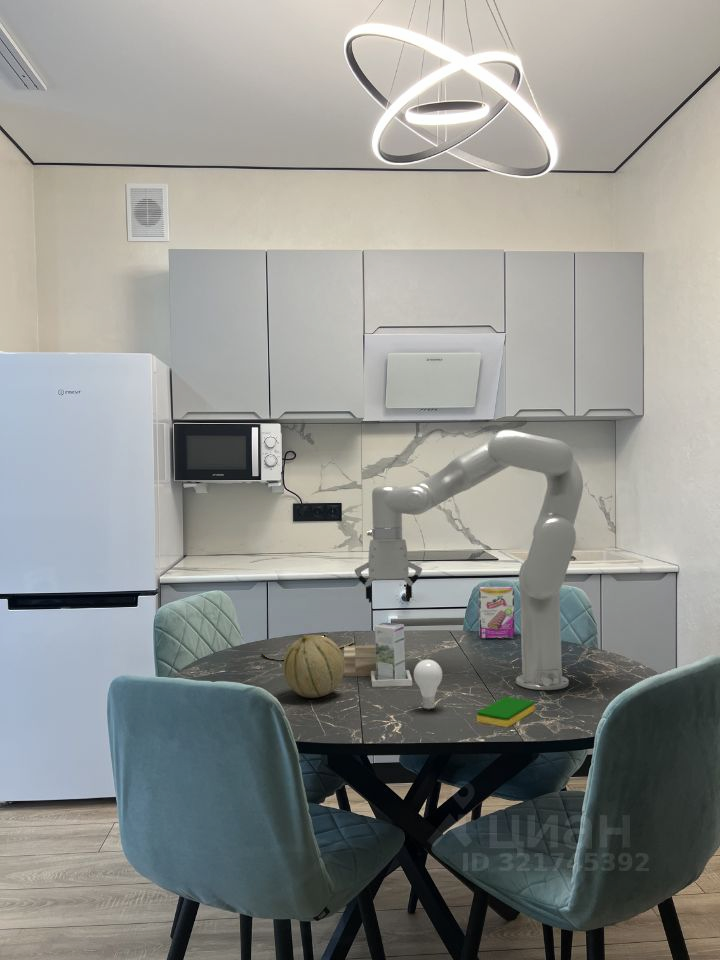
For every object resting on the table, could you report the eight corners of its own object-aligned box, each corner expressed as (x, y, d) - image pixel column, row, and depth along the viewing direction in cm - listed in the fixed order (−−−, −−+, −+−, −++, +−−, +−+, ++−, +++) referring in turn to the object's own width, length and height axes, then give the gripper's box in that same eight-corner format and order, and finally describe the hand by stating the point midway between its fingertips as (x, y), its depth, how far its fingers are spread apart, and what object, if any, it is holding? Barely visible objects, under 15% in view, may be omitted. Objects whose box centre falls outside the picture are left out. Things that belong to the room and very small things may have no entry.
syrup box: (406, 679, 191) (404, 623, 191) (395, 685, 186) (393, 627, 186) (387, 677, 194) (385, 621, 194) (375, 682, 189) (374, 625, 189)
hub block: (397, 674, 196) (396, 655, 196) (344, 676, 195) (343, 657, 196) (394, 662, 210) (393, 644, 210) (344, 663, 209) (344, 646, 210)
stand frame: (412, 685, 185) (412, 679, 185) (372, 686, 185) (372, 680, 185) (409, 675, 195) (408, 669, 195) (370, 676, 195) (370, 670, 195)
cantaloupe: (355, 691, 181) (353, 629, 181) (328, 708, 168) (326, 641, 168) (302, 686, 187) (300, 626, 187) (271, 702, 174) (270, 637, 174)
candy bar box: (479, 640, 237) (478, 588, 237) (479, 636, 242) (477, 586, 242) (515, 639, 236) (514, 588, 236) (513, 636, 241) (512, 586, 241)
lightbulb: (415, 705, 168) (413, 656, 168) (443, 705, 168) (441, 656, 168) (414, 713, 162) (412, 663, 162) (443, 713, 161) (442, 663, 161)
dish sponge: (476, 723, 156) (476, 711, 156) (505, 707, 167) (505, 696, 167) (507, 729, 151) (507, 717, 151) (535, 712, 162) (535, 701, 162)
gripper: (353, 536, 186) (355, 604, 186) (422, 534, 187) (424, 602, 186) (353, 534, 194) (355, 600, 194) (419, 532, 194) (421, 598, 194)
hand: (388, 601), depth 190 cm, fingers open, 9 cm apart
